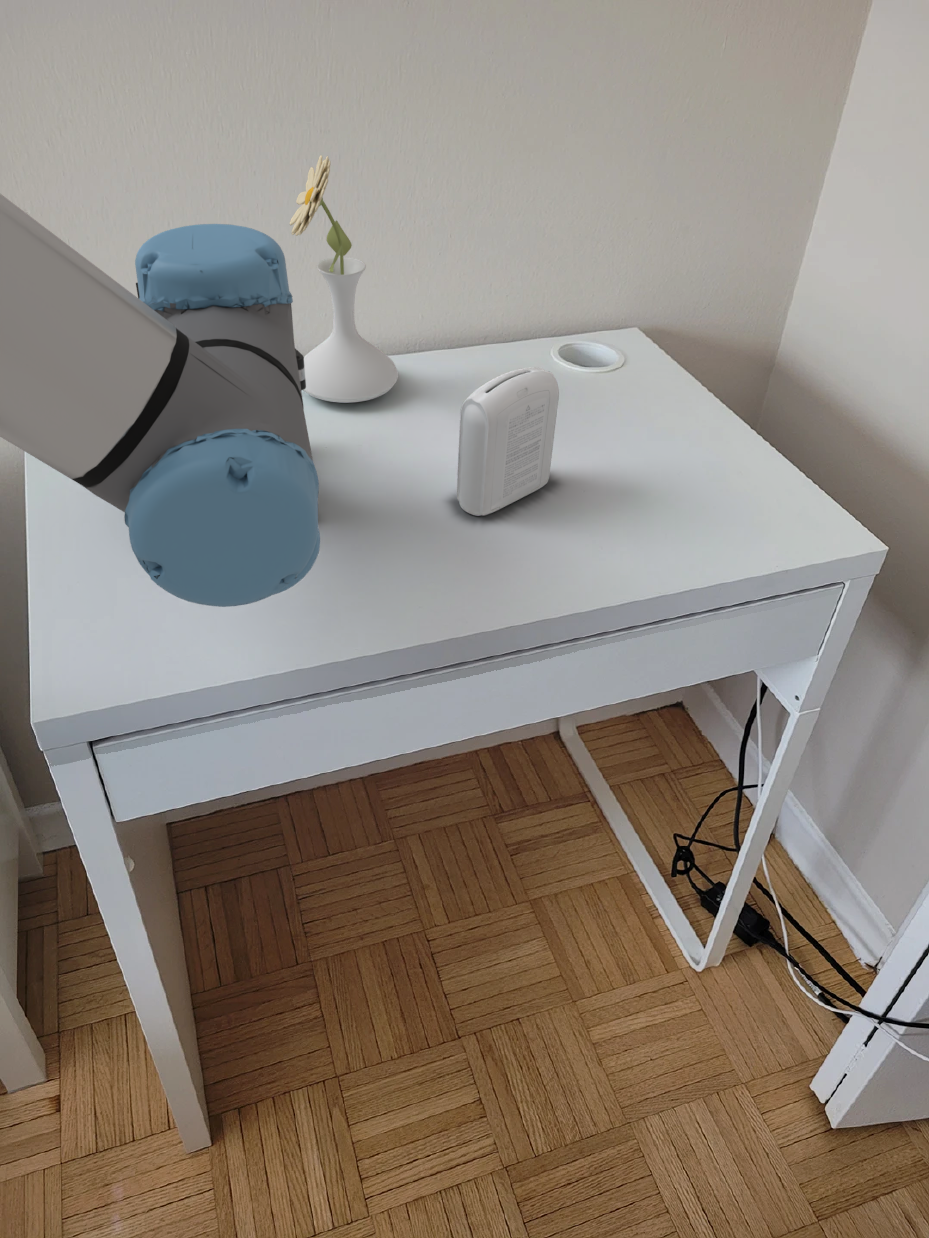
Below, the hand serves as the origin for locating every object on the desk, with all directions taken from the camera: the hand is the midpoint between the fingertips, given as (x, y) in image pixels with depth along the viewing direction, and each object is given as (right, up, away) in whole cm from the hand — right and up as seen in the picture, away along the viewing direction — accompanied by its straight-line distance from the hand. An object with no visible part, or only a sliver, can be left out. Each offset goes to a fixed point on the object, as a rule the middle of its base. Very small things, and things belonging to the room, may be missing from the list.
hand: (189, 294), depth 80 cm
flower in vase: (+10, -2, +25) cm, 27 cm away
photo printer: (+27, -16, +11) cm, 33 cm away
